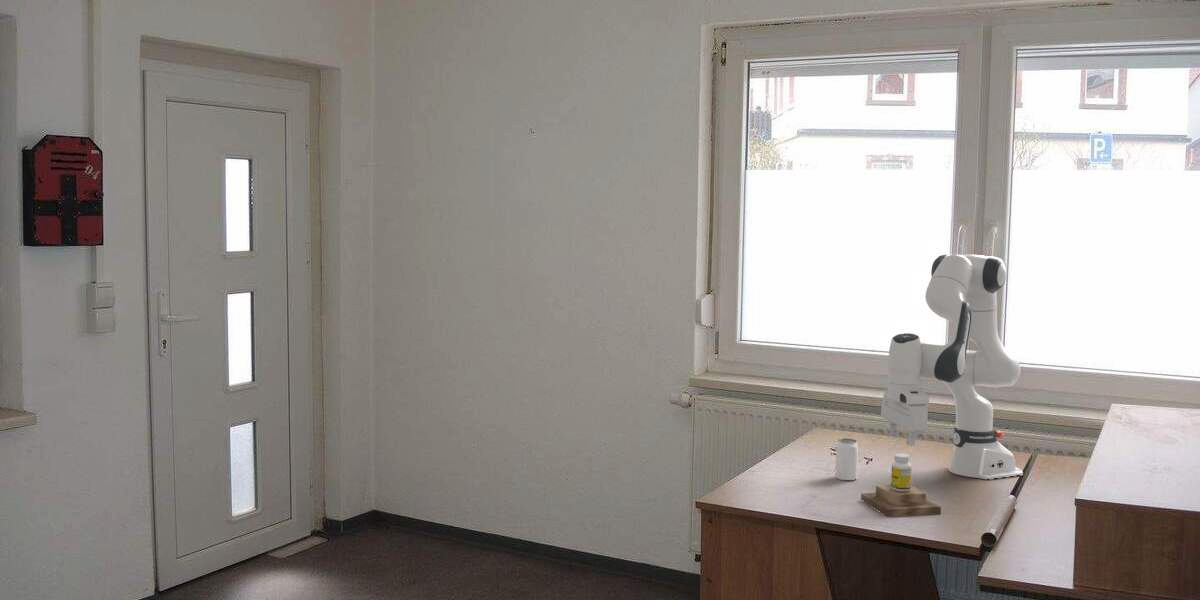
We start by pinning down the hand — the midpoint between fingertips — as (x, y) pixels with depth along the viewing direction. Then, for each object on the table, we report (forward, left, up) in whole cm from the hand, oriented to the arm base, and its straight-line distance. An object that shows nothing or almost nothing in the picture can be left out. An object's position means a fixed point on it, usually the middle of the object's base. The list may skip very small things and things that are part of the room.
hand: (902, 441), depth 292 cm
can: (+2, -31, -19) cm, 36 cm away
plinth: (0, 0, -19) cm, 19 cm away
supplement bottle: (0, 0, -14) cm, 14 cm away
